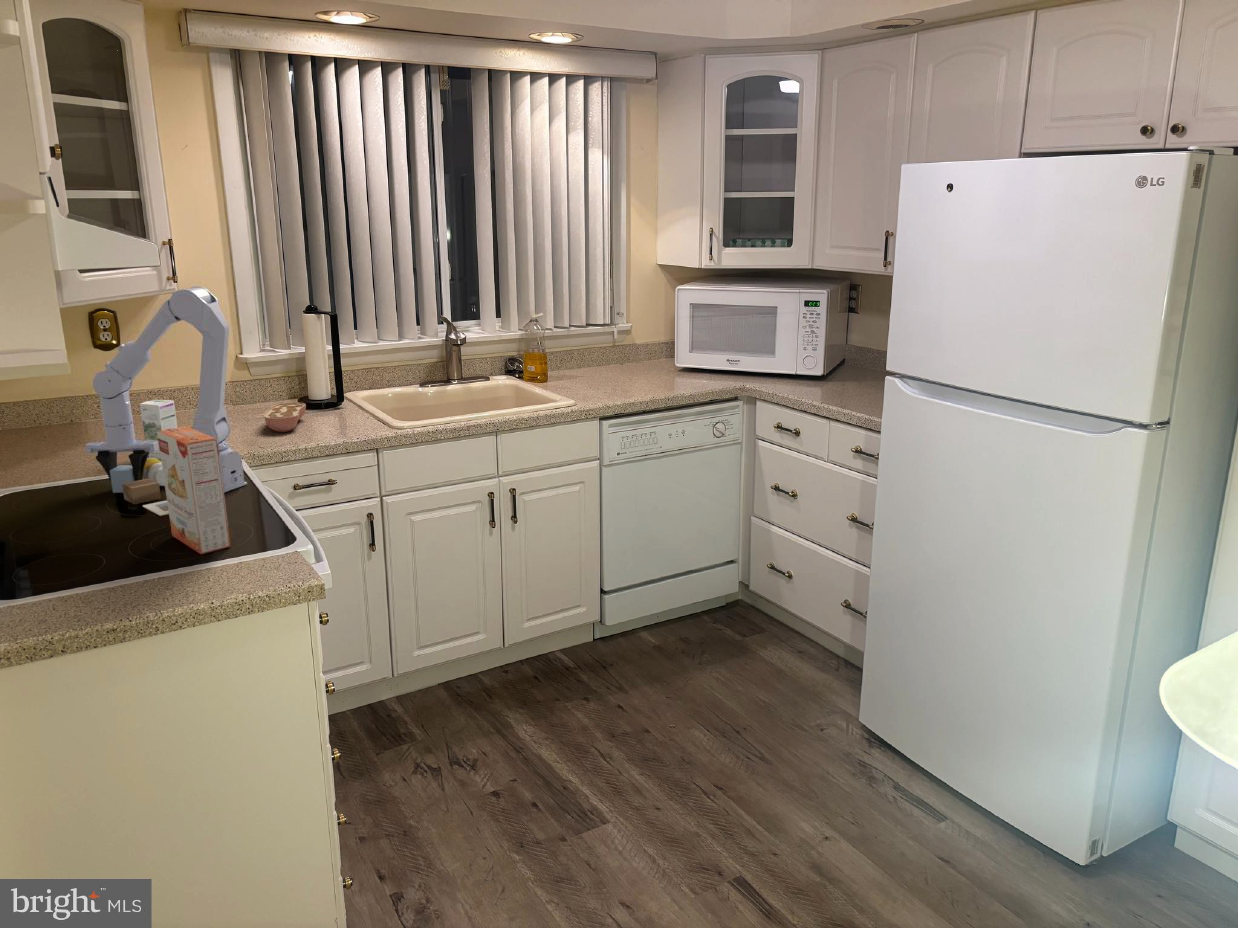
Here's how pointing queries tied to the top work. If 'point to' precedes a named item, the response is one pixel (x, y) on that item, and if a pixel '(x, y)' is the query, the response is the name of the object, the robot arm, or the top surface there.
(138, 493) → the walnut base
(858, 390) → the top surface
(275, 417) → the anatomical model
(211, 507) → the cracker box
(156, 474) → the supplement bottle
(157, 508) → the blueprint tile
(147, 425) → the syrup box
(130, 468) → the light blue block
